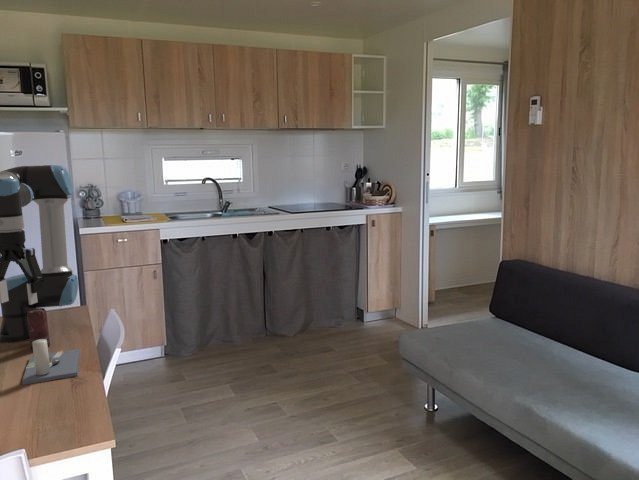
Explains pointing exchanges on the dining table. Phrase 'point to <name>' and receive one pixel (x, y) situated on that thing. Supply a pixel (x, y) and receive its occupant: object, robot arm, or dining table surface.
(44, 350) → the needle
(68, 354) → the dial plate
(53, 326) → the dining table surface
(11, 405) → the dining table surface
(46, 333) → the can
